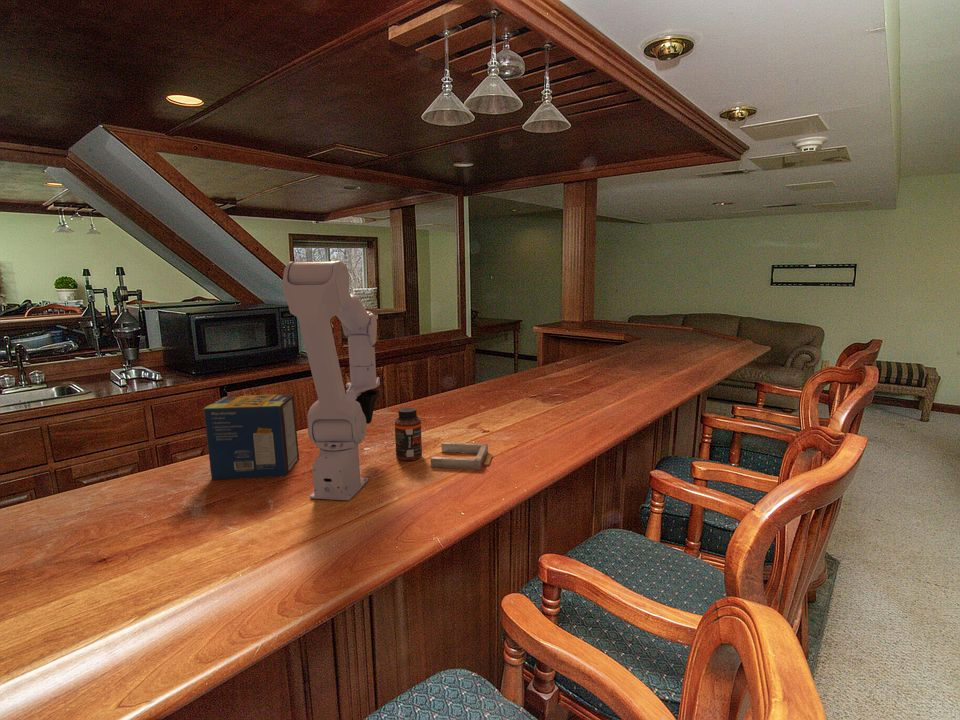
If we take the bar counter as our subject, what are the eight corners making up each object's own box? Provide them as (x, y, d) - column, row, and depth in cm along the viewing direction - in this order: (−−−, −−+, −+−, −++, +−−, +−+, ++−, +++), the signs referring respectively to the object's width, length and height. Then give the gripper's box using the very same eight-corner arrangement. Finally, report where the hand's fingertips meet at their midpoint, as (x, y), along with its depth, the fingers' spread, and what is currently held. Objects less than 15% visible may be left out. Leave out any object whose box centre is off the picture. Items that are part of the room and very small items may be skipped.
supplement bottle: (417, 462, 110) (415, 413, 108) (392, 461, 111) (389, 412, 109) (425, 453, 116) (423, 406, 114) (401, 452, 117) (399, 405, 115)
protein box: (230, 462, 113) (223, 395, 110) (299, 458, 114) (294, 393, 111) (210, 481, 102) (201, 408, 100) (286, 476, 104) (280, 405, 101)
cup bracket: (486, 470, 105) (486, 461, 105) (430, 467, 107) (430, 458, 107) (494, 452, 116) (493, 444, 115) (442, 450, 118) (442, 442, 117)
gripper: (358, 358, 119) (362, 413, 122) (331, 370, 105) (335, 431, 108) (386, 359, 118) (389, 414, 121) (362, 371, 104) (366, 433, 107)
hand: (366, 422), depth 114 cm, fingers closed
